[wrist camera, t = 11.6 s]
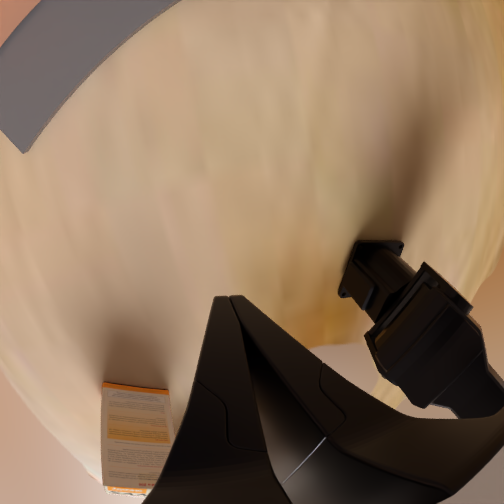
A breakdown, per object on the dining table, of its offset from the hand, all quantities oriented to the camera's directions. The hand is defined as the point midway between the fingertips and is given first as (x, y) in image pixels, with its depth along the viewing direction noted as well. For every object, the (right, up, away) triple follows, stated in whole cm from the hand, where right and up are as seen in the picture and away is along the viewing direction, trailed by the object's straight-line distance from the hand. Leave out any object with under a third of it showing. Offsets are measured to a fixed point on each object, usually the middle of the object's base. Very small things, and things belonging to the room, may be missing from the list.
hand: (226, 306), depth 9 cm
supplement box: (-13, -16, +22) cm, 30 cm away
